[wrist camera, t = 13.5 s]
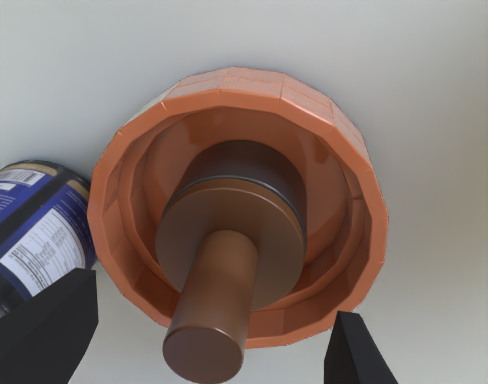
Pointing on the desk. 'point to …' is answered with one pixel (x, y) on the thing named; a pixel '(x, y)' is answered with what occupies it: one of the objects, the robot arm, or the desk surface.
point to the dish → (261, 131)
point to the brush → (228, 252)
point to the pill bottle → (41, 229)
